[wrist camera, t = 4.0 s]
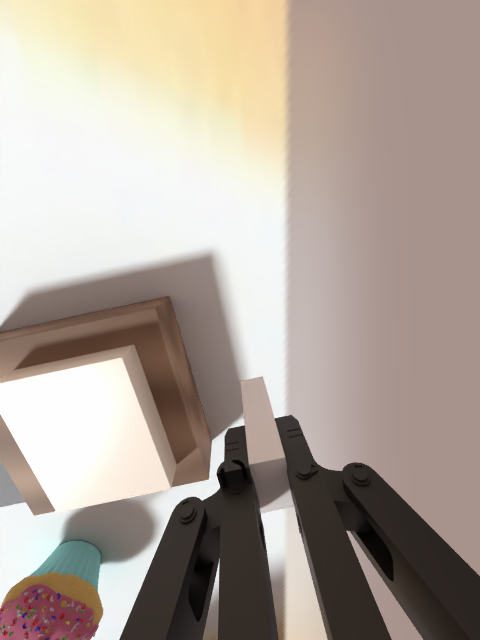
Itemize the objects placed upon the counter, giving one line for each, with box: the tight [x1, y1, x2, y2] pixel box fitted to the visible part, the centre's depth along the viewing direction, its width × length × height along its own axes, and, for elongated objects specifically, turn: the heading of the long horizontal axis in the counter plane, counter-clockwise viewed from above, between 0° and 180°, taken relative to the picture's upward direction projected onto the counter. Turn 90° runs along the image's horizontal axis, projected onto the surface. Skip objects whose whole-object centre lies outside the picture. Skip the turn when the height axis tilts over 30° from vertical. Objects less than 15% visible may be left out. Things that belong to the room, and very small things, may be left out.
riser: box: [0, 296, 212, 515], centre depth 20 cm, size 14×14×4 cm
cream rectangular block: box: [0, 345, 177, 513], centre depth 17 cm, size 10×8×2 cm
